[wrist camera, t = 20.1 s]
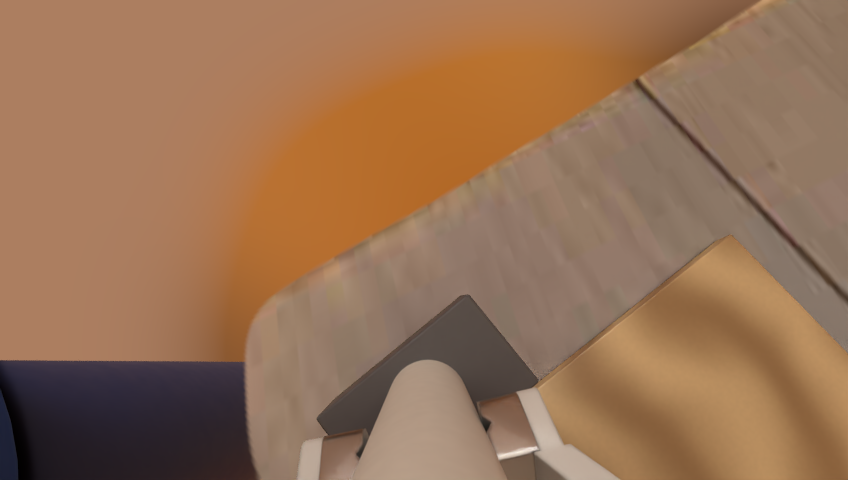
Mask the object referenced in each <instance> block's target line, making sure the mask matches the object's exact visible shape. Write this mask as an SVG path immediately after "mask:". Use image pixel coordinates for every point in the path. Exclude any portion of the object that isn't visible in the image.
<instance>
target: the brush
mask: <svg viewBox="0 0 848 480" xmlns="http://www.w3.org/2000/svg"><path fill="white" fill-rule="evenodd" d="M537 383H538V379H537V377H536V376H535V375H534V374H533V373H532V371H531V370H530V369H529V368H528V366H527V365H526V364H525V363H524V362H523V360H522V359H521V358H520V357H519V355H518V354H517V353H516V352H515V350H514V349H513V348H512V347H511V346H510V344H509V343H508V342H507V341H506V339H505V338H504V337H503V336H502V334H501V333H500V332H499V331H498V330H497V328H496V327H495V326H494V325H493V323H492V322H491V321H490V320H489V318H488V317H487V316H486V315H485V314H484V312H483V311H482V310H481V309H480V307H479V306H478V305H477V304H476V303H475V301H474V300H473V299H472V298H471V296H470V295H468V294H467V295H462V296H460V297H458V298H457V299H456V300H455V301H453V302H452V303H451V304H450V305H449V306H447V307H446V308H445V309H444V310H442V311H441V312H440V313H439V314H438V315H436V316H435V317H434V318H433V319H431V320H430V321H429V322H428V323H427V324H425V325H424V326H423V327H422V328H420V329H419V330H418V331H417V332H416V333H414V334H413V335H412V336H411V337H409V338H408V339H407V340H406V341H405V342H403V343H402V344H401V345H400V346H398V347H397V348H396V349H395V350H394V351H392V352H391V353H390V354H389V355H387V356H386V357H385V358H384V359H383V360H381V361H380V362H379V363H378V364H376V365H375V366H374V367H373V368H372V369H370V370H369V371H368V372H367V373H365V374H364V375H363V376H362V377H361V378H359V379H358V380H357V381H356V382H354V383H353V384H352V385H351V386H350V387H348V388H347V389H346V390H345V391H343V392H342V393H341V394H340V395H339V396H337V397H336V398H335V399H334V400H333V401H332V402H331V403H330V404H329V405H328V406H327V407H326V408H325V409H324V410H323V411H322V413H321V414H320V415H319V416H318V417H317V421H318V422H319V423H320V425H321V426H322V428H323V429H324V430H325V432H326V433H327V434H328V436H329V435H334V434H339V433H344V432H348V431H353V430H358V429H363V428H366V430H367V432H368V435H369V439H368V441H367V444H366V446H365V448H364V451H363V453H362V455H361V458H360V460H359V463H358V465H357V467H356V470H355V472H354V474H353V477H352V479H351V480H507V477H506V475H505V473H504V471H503V469H502V466H501V464H500V462H499V460H498V458H497V455H496V453H495V451H494V449H493V446H492V444H491V442H490V440H489V438H488V436H487V433H486V431H485V429H484V427H483V425H482V422H481V419H480V416H479V412H478V407H477V401H479V400H483V399H487V398H491V397H495V396H499V395H503V394H507V393H511V392H517V391H521V390H526V389H530V388H532V387H533V386H535V385H536V384H537Z"/></svg>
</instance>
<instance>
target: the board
mask: <svg viewBox="0 0 848 480" xmlns="http://www.w3.org/2000/svg"><path fill="white" fill-rule="evenodd" d="M534 387H536V388H537V389H538V390H539V392H540V394H541V396H542V399H543V401H544V403H545V405H546V407H547V409H548V411H549V413H550V416H551V418H552V420H553V422H554V424H555V426H556V428H557V431H558V433H559V435H560V437H561V439H562V441H563V443H564V445H566V444H571V445H573V446H574V447H576V448H577V449H579V450H580V451H581V452H583V453H584V454H586V455H587V456H588V457H590V458H591V459H593V460H594V461H595V462H597V463H598V464H600V465H601V466H602V467H604V468H605V469H607V470H608V471H609V472H611V473H612V474H614V475H615V476H616V477H618V478H619V479H621V480H848V353H847V352H846V351H845V350H844V349H843V348H842V347H841V346H840V345H839V344H838V343H837V342H836V341H835V340H834V339H833V338H832V337H831V336H830V335H829V334H828V333H827V332H826V331H825V330H824V329H823V328H822V327H821V326H820V325H819V324H818V323H817V322H816V321H815V320H814V319H813V318H812V317H811V315H810V314H809V313H808V312H807V311H806V310H805V309H804V308H803V307H802V306H801V305H800V304H799V303H798V302H797V301H796V300H795V299H794V298H793V297H792V296H791V295H790V294H789V293H788V292H787V291H786V290H785V289H784V288H783V287H782V286H781V285H780V284H779V283H778V282H777V281H776V280H775V279H774V278H773V277H772V276H771V275H770V274H769V273H768V272H767V271H766V270H765V268H764V267H763V266H762V265H761V264H760V263H759V262H758V261H757V260H756V259H755V258H754V257H753V256H752V255H751V254H750V253H749V252H748V251H747V250H746V249H745V248H744V247H743V246H742V245H741V244H740V243H739V242H738V241H737V240H736V239H735V238H734V237H733V236H732V235H728V236H726V237H724V238H721V239H719V240H717V241H715V242H714V243H713V244H712V245H710V246H709V247H708V248H707V249H705V250H704V251H703V252H702V253H700V254H699V255H698V256H696V257H695V258H694V259H693V260H691V261H690V262H689V263H688V264H686V265H685V266H684V267H683V268H681V269H680V270H679V271H678V272H676V273H675V274H674V275H673V276H671V277H670V278H669V279H668V280H666V281H665V282H664V283H662V284H661V285H660V286H659V287H657V288H656V289H655V290H654V291H652V292H651V293H650V294H649V295H647V296H646V297H645V298H644V299H642V300H641V301H640V302H639V303H637V304H636V305H635V306H634V307H632V308H631V309H630V310H629V311H627V312H626V313H625V314H623V315H622V316H621V317H620V318H618V319H617V320H616V321H615V322H613V323H612V324H611V325H610V326H608V327H607V328H606V329H605V330H603V331H602V332H601V333H600V334H598V335H597V336H596V337H595V338H593V339H592V340H591V341H590V342H588V343H587V344H586V345H584V346H583V347H582V348H581V349H579V350H578V351H577V352H576V353H574V354H573V355H572V356H571V357H569V358H568V359H567V360H566V361H564V362H563V363H562V364H561V365H559V366H558V367H557V368H556V369H554V370H553V371H552V372H550V373H549V374H548V375H547V376H545V377H544V378H543V379H542V380H540V381H539V382H538V383H537V384H536V385H535V386H533V387H532V388H534Z"/></svg>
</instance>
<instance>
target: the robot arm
mask: <svg viewBox="0 0 848 480" xmlns="http://www.w3.org/2000/svg"><path fill="white" fill-rule="evenodd" d="M477 407H478V412H479V416H480V419H481V422H482V425H483V427H484V429H485V431H486V433H487V436H488V438H489V440H490V442H491V444H492V446H493V449H494V451H495V453H496V455H497V458H498V460H499V462H500V464H501V466H502V469H503V471H504V473H505V475H506V477H507V480H621V479H619V478H618V477H616V476H615V475H614V474H612V473H611V472H609V471H608V470H607V469H605V468H604V467H602V466H601V465H600V464H598V463H597V462H595V461H594V460H593V459H591V458H590V457H588V456H587V455H586V454H584V453H583V452H581V451H580V450H579V449H577V448H576V447H574V446H573V445H571V444H566V445H564V443H563V441H562V439H561V437H560V435H559V433H558V431H557V428H556V426H555V424H554V422H553V420H552V418H551V416H550V413H549V411H548V409H547V407H546V405H545V403H544V401H543V399H542V396H541V394H540V392H539V390H538V389H537V388H536V387H534V388H530V389H526V390H521V391H517V392H511V393H507V394H503V395H499V396H495V397H491V398H487V399H483V400H479V401H477ZM368 439H369V435H368V432H367V430H366V428H363V429H358V430H353V431H348V432H344V433H339V434H334V435H329V436H324V437H320V438H315V439H311V440H306V441H304V442H303V444H302V447H301V450H300V457H299V464H298V472H297V479H296V480H351V479H352V477H353V474H354V472H355V470H356V467H357V465H358V463H359V460H360V458H361V455H362V453H363V451H364V448H365V446H366V444H367V441H368Z"/></svg>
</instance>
